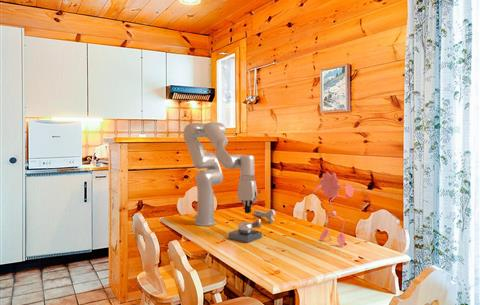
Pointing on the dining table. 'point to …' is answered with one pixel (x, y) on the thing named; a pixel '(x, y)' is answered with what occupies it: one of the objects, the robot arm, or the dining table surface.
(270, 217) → the wrench
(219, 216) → the dining table surface
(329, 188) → the figurine
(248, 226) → the ball-ended lever handle
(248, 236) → the base
